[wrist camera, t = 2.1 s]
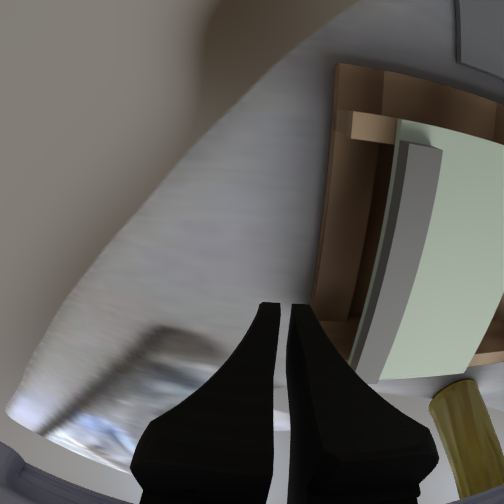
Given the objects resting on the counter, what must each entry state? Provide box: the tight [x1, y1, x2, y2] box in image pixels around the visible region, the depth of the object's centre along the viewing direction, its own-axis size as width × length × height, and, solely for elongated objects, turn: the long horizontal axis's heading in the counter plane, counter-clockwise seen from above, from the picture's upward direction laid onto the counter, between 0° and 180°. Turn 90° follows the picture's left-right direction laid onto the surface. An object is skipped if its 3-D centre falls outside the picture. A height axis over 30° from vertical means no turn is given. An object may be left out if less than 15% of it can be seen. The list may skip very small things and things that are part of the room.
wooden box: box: [310, 63, 504, 366], centre depth 17 cm, size 20×20×5 cm
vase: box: [429, 379, 504, 500], centre depth 21 cm, size 6×6×14 cm
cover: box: [348, 119, 504, 384], centre depth 14 cm, size 9×15×2 cm, turn 178°
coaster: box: [455, 0, 504, 81], centre depth 12 cm, size 8×8×1 cm
